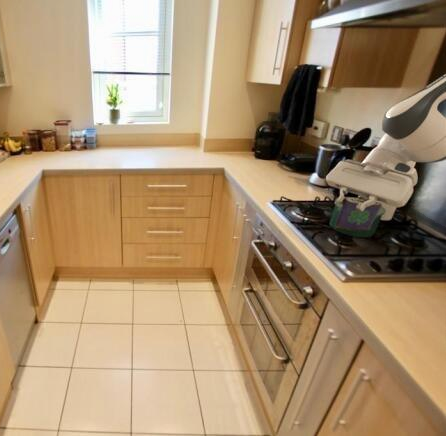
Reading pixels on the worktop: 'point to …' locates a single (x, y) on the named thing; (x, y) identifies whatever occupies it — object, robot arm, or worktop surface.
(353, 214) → the flask
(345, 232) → the pot
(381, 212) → the pot lid
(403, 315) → the worktop surface
